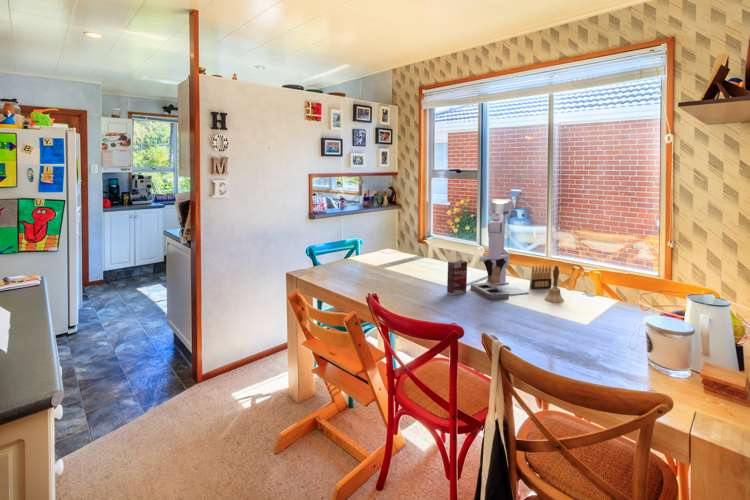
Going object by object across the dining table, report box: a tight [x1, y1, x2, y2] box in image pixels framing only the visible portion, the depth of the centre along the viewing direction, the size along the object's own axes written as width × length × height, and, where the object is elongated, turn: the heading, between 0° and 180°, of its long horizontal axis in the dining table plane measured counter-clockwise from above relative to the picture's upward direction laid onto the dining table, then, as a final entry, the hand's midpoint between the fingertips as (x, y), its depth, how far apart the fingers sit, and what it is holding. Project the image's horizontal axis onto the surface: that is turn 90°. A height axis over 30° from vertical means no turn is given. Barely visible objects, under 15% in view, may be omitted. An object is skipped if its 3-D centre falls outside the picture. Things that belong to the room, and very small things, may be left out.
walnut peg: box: [487, 266, 500, 285], centre depth 198 cm, size 4×4×8 cm
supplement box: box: [446, 259, 468, 296], centre depth 204 cm, size 9×5×16 cm, turn 117°
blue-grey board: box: [500, 286, 529, 297], centre depth 206 cm, size 10×10×1 cm
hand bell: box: [543, 265, 565, 304], centre depth 191 cm, size 8×8×16 cm
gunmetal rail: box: [470, 282, 510, 302], centre depth 203 cm, size 20×9×2 cm, turn 15°
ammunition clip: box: [529, 264, 552, 291], centre depth 209 cm, size 11×2×12 cm, turn 98°
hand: (493, 275), depth 198 cm, fingers closed on walnut peg, 4 cm apart
